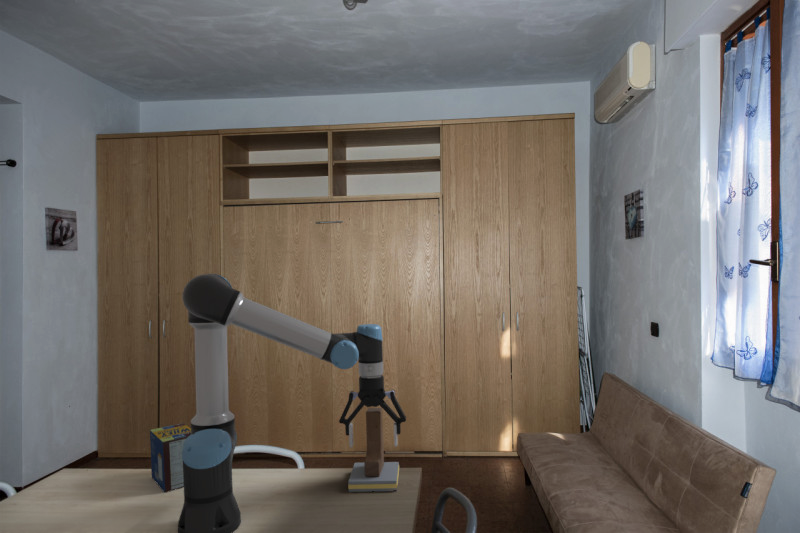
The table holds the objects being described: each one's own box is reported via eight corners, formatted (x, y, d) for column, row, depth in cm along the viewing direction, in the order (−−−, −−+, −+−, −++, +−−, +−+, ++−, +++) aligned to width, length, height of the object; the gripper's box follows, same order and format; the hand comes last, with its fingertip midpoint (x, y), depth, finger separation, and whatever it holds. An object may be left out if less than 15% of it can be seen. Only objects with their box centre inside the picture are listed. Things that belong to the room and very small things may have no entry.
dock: (348, 492, 147) (348, 481, 147) (354, 472, 161) (354, 462, 161) (397, 491, 146) (396, 481, 146) (399, 471, 160) (399, 461, 160)
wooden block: (379, 477, 149) (377, 416, 149) (364, 476, 150) (362, 416, 150) (384, 465, 158) (382, 407, 158) (370, 464, 159) (368, 407, 159)
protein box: (184, 468, 169) (183, 422, 169) (200, 482, 157) (198, 433, 157) (150, 477, 162) (149, 429, 162) (164, 493, 150) (162, 441, 150)
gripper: (328, 379, 150) (330, 450, 150) (411, 377, 149) (414, 448, 149) (332, 373, 158) (335, 441, 158) (412, 371, 157) (414, 440, 157)
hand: (373, 445), depth 154 cm, fingers open, 13 cm apart
